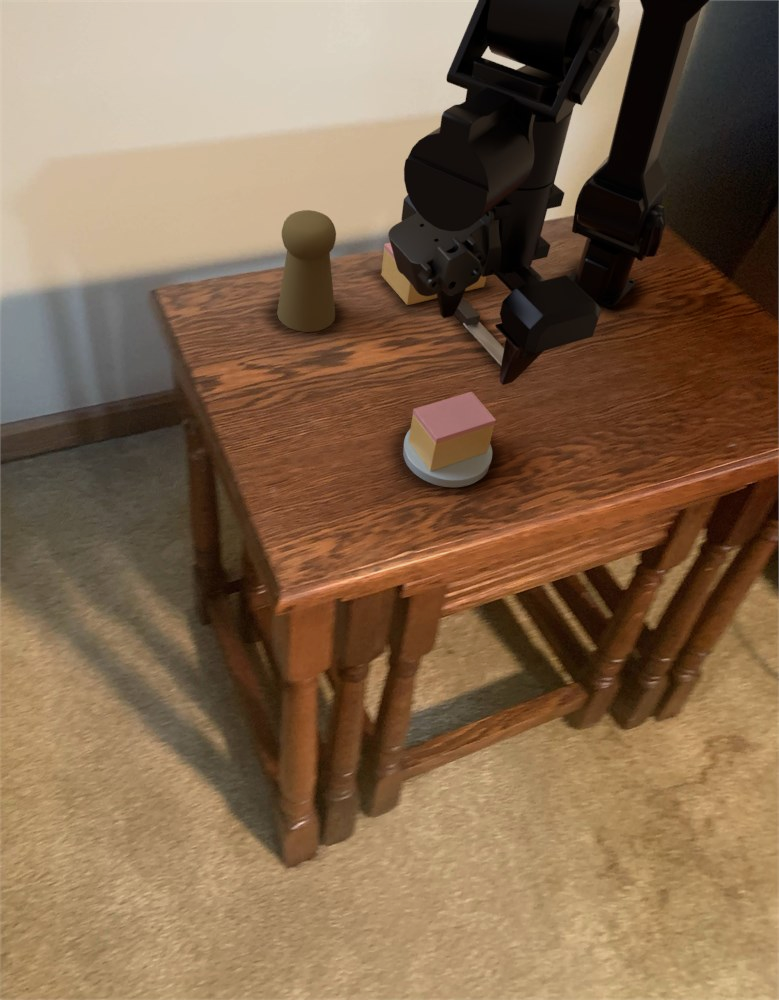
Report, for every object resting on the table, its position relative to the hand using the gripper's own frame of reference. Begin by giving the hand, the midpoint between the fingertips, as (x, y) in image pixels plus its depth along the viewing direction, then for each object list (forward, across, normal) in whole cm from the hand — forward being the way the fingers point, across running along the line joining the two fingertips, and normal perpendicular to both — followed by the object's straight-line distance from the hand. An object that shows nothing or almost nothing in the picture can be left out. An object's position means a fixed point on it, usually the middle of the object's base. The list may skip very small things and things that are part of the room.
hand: (475, 348), depth 69 cm
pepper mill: (+11, -22, -5) cm, 25 cm away
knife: (+11, -13, +11) cm, 20 cm away
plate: (+11, +1, -2) cm, 11 cm away
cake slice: (+10, +1, -2) cm, 10 cm away
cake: (+11, -23, +11) cm, 27 cm away
